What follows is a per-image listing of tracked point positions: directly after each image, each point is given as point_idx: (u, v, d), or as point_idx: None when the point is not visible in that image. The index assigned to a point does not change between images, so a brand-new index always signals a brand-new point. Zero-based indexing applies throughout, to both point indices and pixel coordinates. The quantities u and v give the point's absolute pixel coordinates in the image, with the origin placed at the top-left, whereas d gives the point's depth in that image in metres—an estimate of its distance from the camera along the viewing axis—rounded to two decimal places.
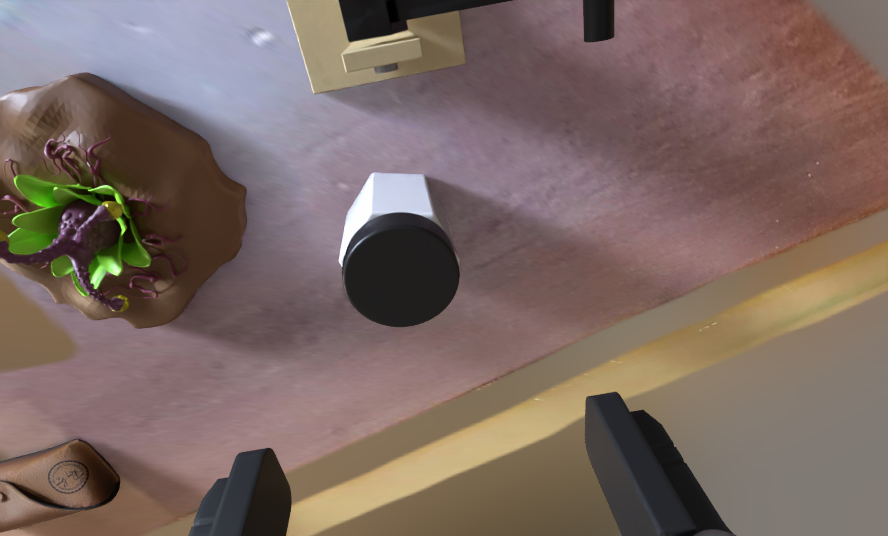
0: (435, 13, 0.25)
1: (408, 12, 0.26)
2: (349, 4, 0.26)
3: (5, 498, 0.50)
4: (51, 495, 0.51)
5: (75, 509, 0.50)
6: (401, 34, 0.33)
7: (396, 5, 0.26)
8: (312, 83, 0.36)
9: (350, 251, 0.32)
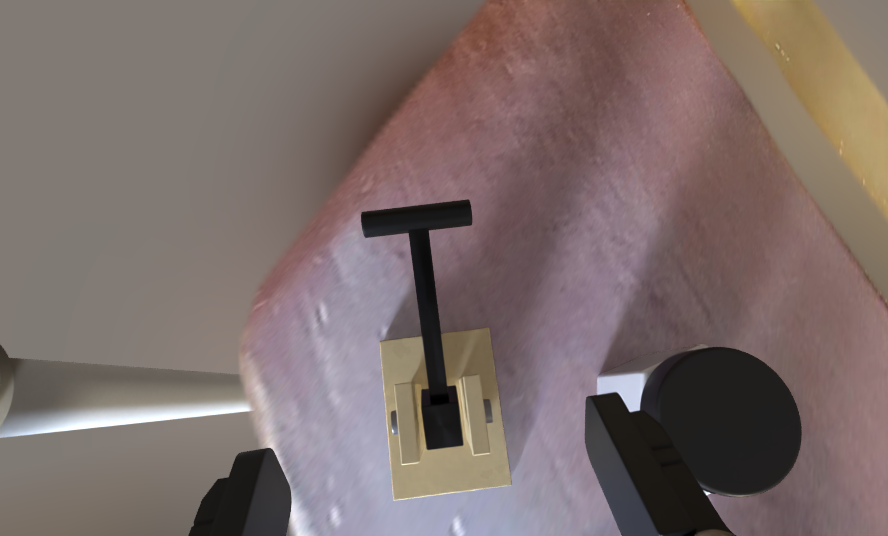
0: (443, 359, 0.28)
1: (441, 384, 0.28)
2: (431, 440, 0.28)
3: None
4: None
5: None
6: None
7: (434, 395, 0.28)
8: (501, 484, 0.36)
9: None
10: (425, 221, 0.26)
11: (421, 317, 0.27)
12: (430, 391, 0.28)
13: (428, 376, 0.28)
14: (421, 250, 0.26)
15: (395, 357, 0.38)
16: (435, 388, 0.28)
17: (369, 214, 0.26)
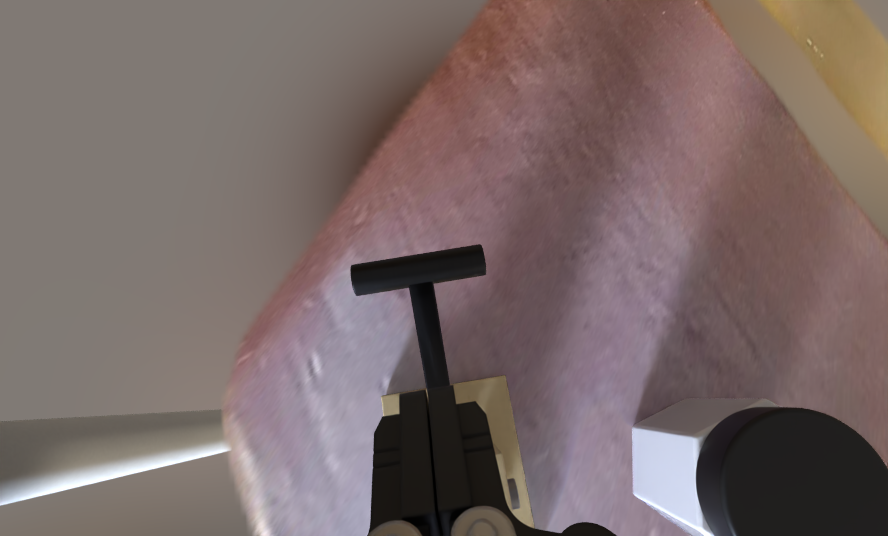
0: None
1: None
2: None
3: None
4: None
5: None
6: None
7: None
8: None
9: None
10: (429, 274, 0.21)
11: None
12: None
13: None
14: (426, 309, 0.22)
15: None
16: None
17: (361, 268, 0.21)
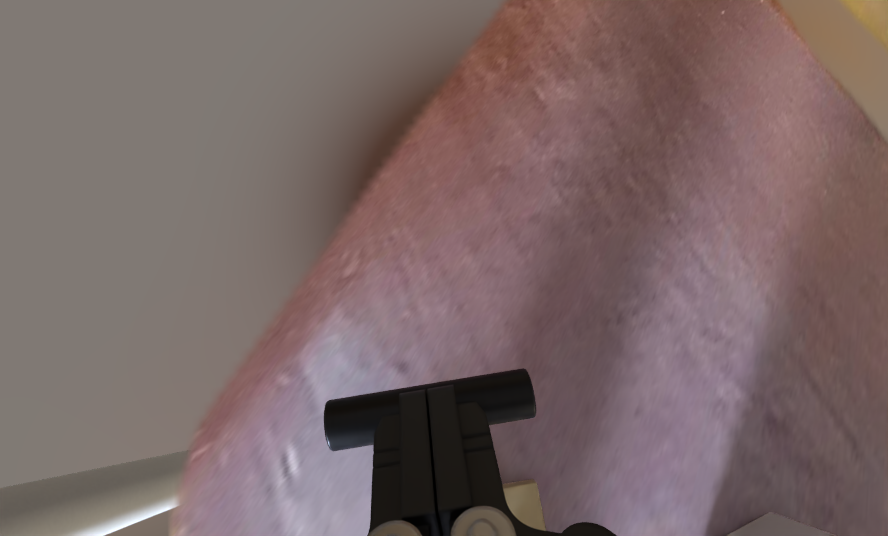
0: None
1: None
2: None
3: None
4: None
5: None
6: None
7: None
8: None
9: None
10: None
11: None
12: None
13: None
14: None
15: None
16: None
17: (340, 410, 0.14)
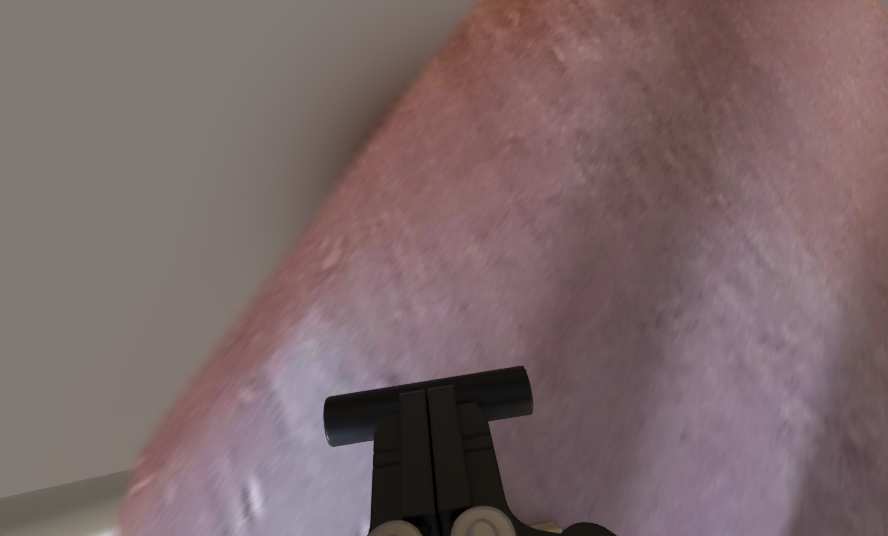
0: None
1: None
2: None
3: None
4: None
5: None
6: None
7: None
8: None
9: None
10: None
11: None
12: None
13: None
14: None
15: None
16: None
17: (341, 398, 0.14)
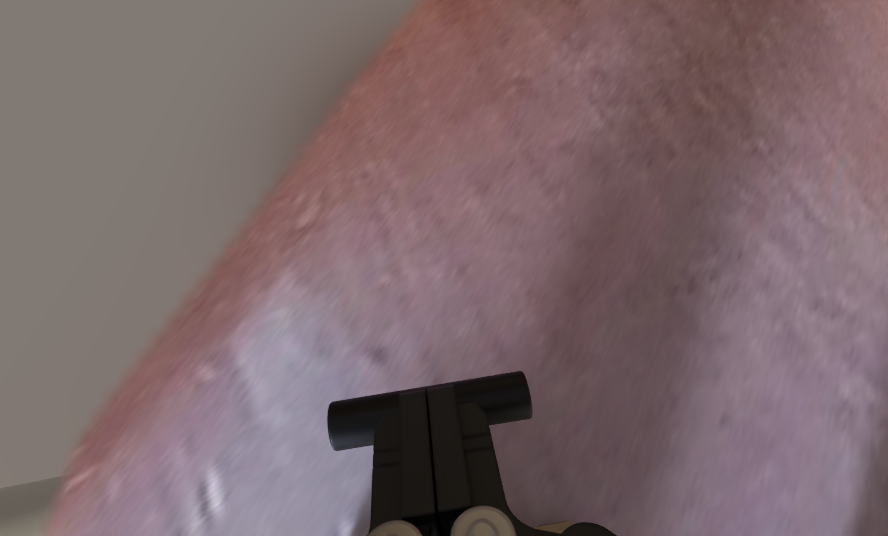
0: None
1: None
2: None
3: None
4: None
5: None
6: None
7: None
8: None
9: None
10: None
11: None
12: None
13: None
14: None
15: None
16: None
17: (345, 400, 0.15)
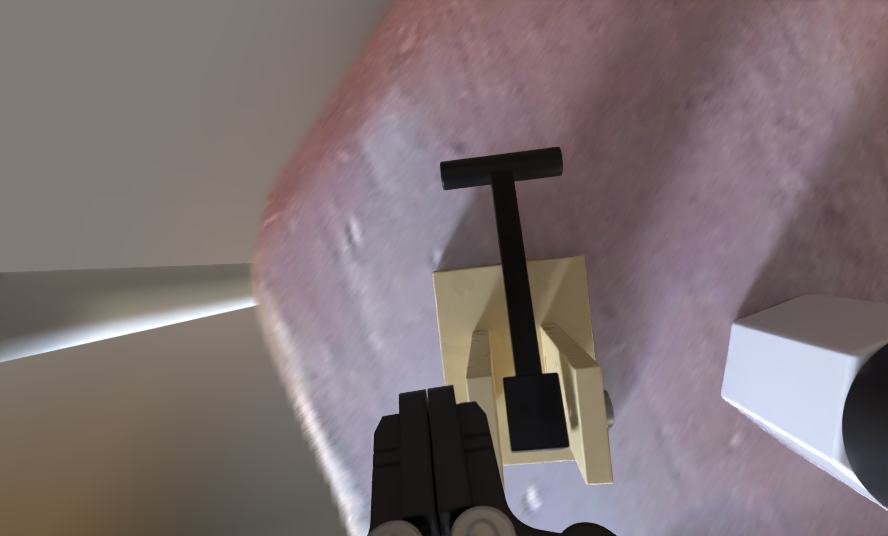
0: (533, 320, 0.20)
1: (531, 355, 0.20)
2: (519, 432, 0.18)
3: None
4: None
5: None
6: (547, 347, 0.25)
7: (523, 371, 0.20)
8: None
9: None
10: (509, 162, 0.23)
11: (505, 266, 0.22)
12: (516, 365, 0.20)
13: (513, 343, 0.20)
14: (505, 192, 0.23)
15: (453, 294, 0.28)
16: (523, 360, 0.20)
17: None
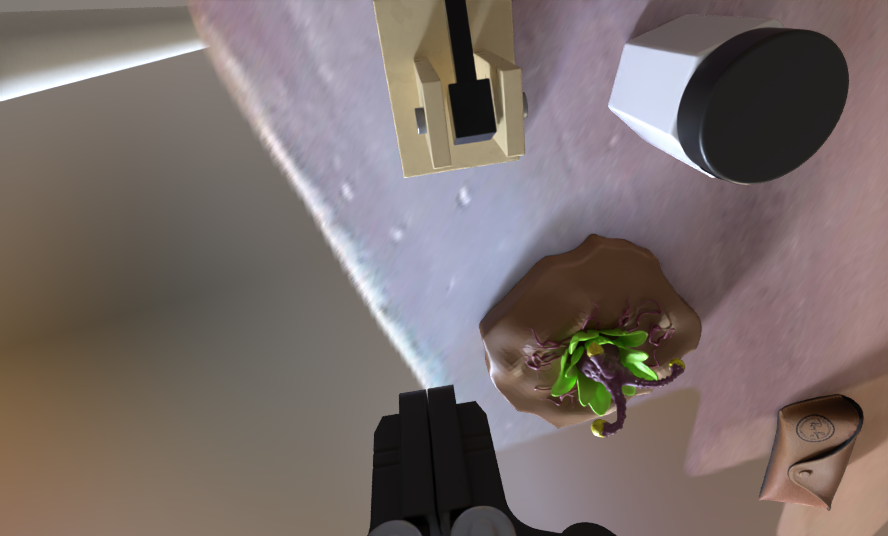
0: (469, 37, 0.25)
1: (468, 67, 0.25)
2: (461, 124, 0.25)
3: (809, 471, 0.57)
4: (826, 445, 0.55)
5: (854, 436, 0.53)
6: (478, 67, 0.30)
7: (462, 80, 0.25)
8: (509, 160, 0.37)
9: (712, 171, 0.27)
10: None
11: None
12: (457, 75, 0.25)
13: (454, 57, 0.25)
14: None
15: (394, 22, 0.31)
16: (462, 71, 0.25)
17: None
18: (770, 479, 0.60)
